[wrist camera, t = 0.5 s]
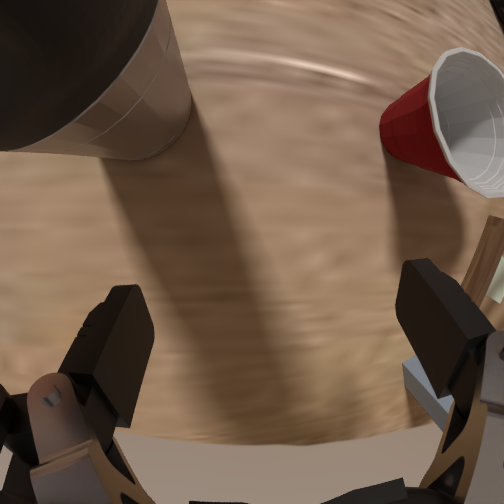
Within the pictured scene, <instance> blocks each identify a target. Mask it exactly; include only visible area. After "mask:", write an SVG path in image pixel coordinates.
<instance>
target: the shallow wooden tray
mask: <svg viewBox="0 0 504 504" xmlns="http://www.w3.org/2000/svg"><path fill="white" fill-rule="evenodd" d="M461 287H462V288H463V289H464V292H465V293H467V294H468V295H469V296H470V298H471V299H472V301H474V303H475V304H476V305H477V306H478V307H479V309H480V310H481V311H482V313H483V314H484V315H485V316H486V318H487V319H488V320H489V321H490V323H491V324H492V325H493V327H494V328H495V329H496V331H501V330H502V331H504V219H502V218H498V217H494V216H490V215H489V217H488V220H487V223H486V226H485V229H484V231H483V234H482V237H481V239H480V242H479V245H478V247H477V250H476V252H475V255H474V257H473V260H472V262H471V264H470V267H469V269H468V271H467V274H466V276H465V278H464V280H463V282H462V285H461Z"/></svg>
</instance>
